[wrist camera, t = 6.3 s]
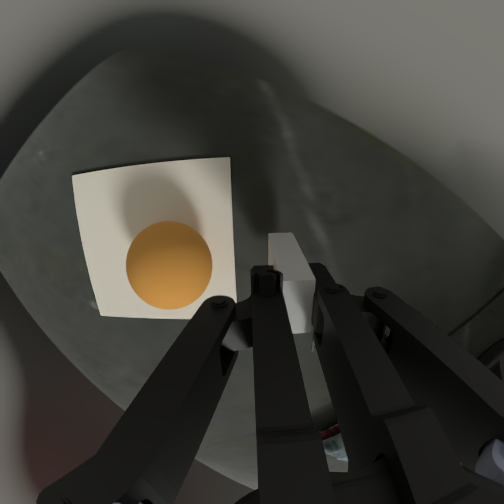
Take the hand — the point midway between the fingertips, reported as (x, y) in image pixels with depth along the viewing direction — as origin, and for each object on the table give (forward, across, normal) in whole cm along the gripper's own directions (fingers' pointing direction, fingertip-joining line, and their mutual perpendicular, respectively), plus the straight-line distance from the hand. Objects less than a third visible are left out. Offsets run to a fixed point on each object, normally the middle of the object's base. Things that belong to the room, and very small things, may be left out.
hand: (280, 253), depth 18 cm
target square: (+2, +9, 0) cm, 9 cm away
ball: (-1, +7, 0) cm, 7 cm away
